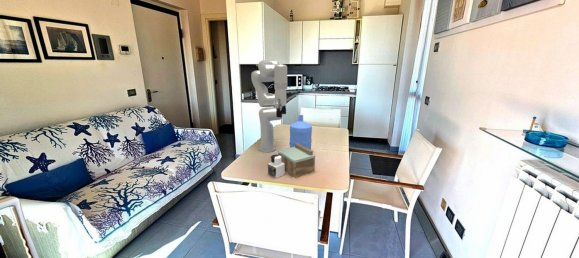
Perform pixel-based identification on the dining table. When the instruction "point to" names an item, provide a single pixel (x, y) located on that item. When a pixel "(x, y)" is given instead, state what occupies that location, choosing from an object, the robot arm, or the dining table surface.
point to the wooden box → (298, 166)
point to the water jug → (301, 133)
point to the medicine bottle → (276, 166)
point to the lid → (297, 153)
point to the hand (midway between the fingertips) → (281, 115)
